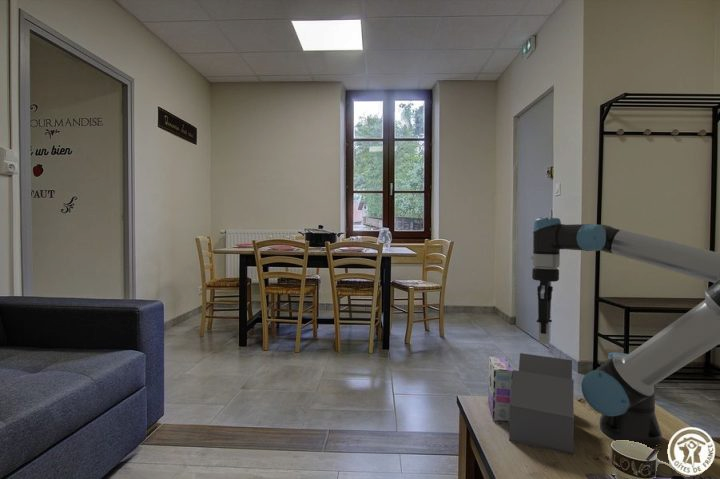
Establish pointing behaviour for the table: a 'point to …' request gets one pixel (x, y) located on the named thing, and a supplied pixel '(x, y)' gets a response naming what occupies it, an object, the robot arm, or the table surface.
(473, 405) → the table surface
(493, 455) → the table surface
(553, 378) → the near flap
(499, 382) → the candy box
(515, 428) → the carton
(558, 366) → the far flap
